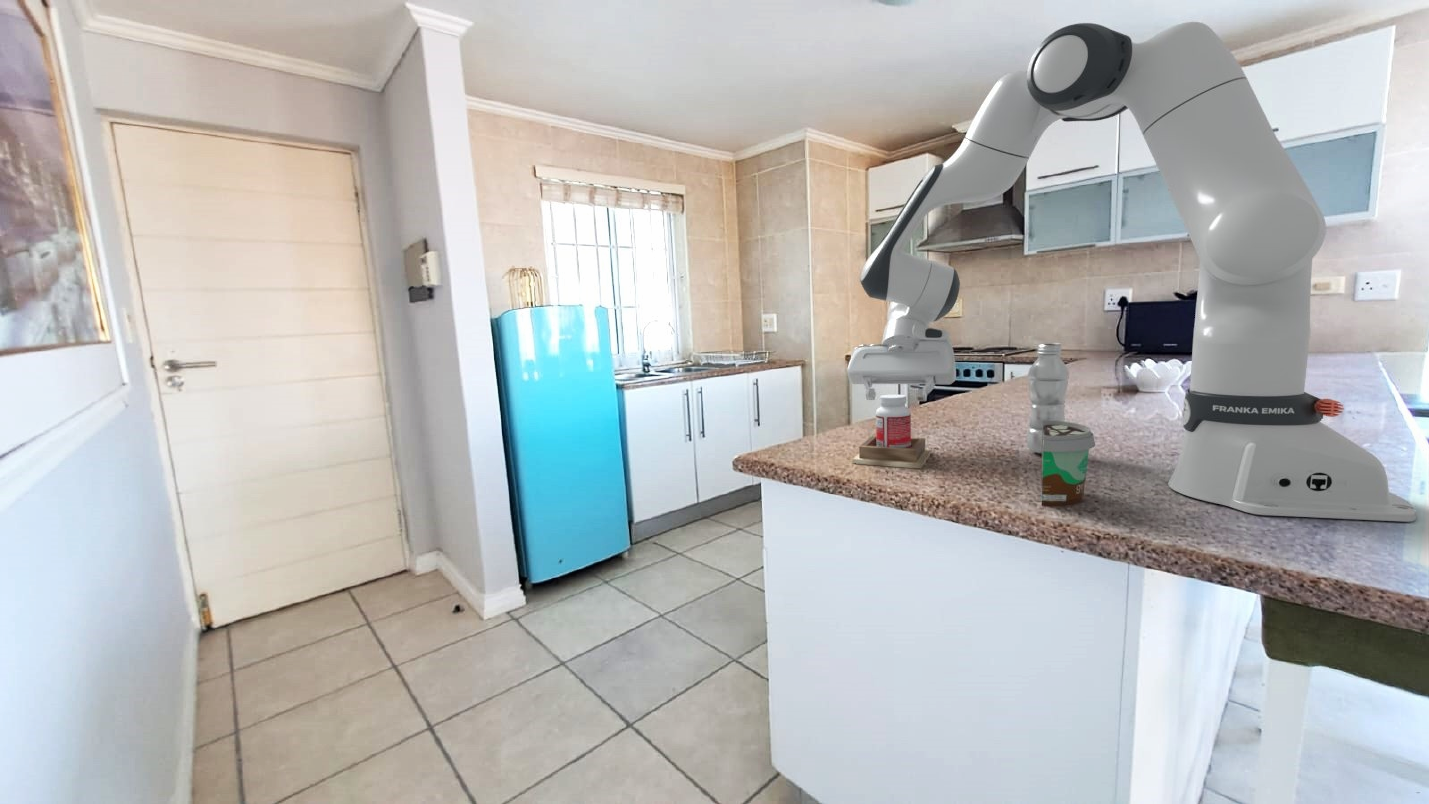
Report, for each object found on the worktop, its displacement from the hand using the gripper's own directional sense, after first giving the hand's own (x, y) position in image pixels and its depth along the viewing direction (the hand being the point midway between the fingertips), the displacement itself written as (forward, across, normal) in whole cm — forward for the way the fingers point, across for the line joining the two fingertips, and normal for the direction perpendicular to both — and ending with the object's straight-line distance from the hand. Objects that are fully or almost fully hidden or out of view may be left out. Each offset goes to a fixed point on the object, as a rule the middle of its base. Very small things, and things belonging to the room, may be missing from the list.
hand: (895, 398), depth 105 cm
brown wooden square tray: (+9, 0, +6) cm, 11 cm away
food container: (+20, +27, -4) cm, 34 cm away
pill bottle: (+9, 0, +6) cm, 11 cm away
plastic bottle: (+2, +25, +14) cm, 29 cm away
